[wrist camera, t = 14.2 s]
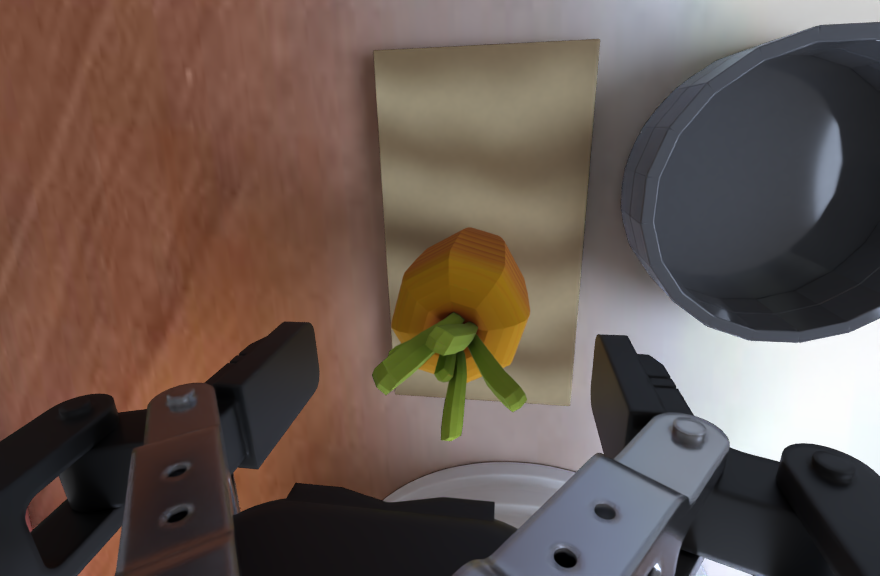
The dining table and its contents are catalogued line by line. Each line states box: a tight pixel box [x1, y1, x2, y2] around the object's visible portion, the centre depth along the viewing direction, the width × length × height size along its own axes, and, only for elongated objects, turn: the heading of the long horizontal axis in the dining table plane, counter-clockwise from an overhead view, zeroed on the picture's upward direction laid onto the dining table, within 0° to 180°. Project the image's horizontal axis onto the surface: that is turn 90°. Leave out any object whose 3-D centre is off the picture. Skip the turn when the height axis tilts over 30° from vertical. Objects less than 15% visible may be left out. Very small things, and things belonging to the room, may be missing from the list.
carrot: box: [372, 227, 530, 441], centre depth 19 cm, size 5×5×15 cm
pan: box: [621, 22, 880, 343], centre depth 21 cm, size 13×13×4 cm
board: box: [373, 39, 600, 406], centre depth 26 cm, size 20×11×1 cm, turn 1°
